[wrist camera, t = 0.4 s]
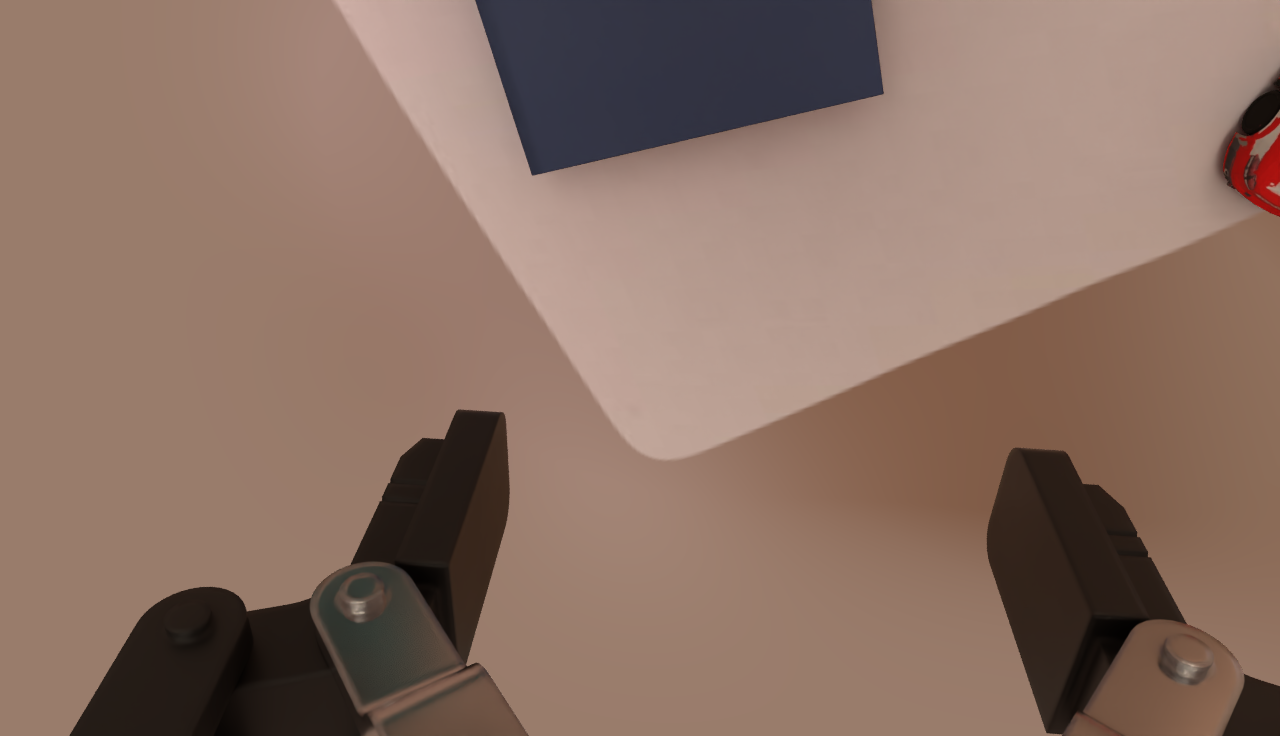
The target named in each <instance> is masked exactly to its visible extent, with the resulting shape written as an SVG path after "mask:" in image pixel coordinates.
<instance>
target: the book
mask: <svg viewBox="0 0 1280 736" xmlns="http://www.w3.org/2000/svg"><path fill="white" fill-rule="evenodd" d="M475 1H476V4H477V7H478V10H479V13H480V16H481V19H482V22H483V25H484V29H485V32H486V35H487V38H488V41H489V44H490V47H491V50H492V53H493V56H494V59H495V62H496V66H497V69H498V72H499V75H500V78H501V81H502V84H503V87H504V90H505V93H506V96H507V100H508V103H509V106H510V109H511V112H512V115H513V118H514V121H515V124H516V127H517V130H518V133H519V137H520V140H521V143H522V146H523V149H524V152H525V155H526V158H527V161H528V164H529V167H530V170H531V174H532V175H538V174H542V173H546V172H550V171H555V170H559V169H563V168H568V167H572V166H576V165H581V164H585V163H589V162H593V161H598V160H602V159H606V158H611V157H615V156H619V155H624V154H628V153H632V152H637V151H641V150H645V149H649V148H654V147H658V146H662V145H667V144H671V143H675V142H680V141H684V140H688V139H692V138H697V137H701V136H705V135H710V134H714V133H718V132H723V131H727V130H731V129H735V128H740V127H744V126H748V125H753V124H757V123H761V122H766V121H770V120H774V119H779V118H783V117H787V116H791V115H796V114H800V113H804V112H809V111H813V110H817V109H822V108H826V107H830V106H834V105H839V104H843V103H847V102H852V101H856V100H860V99H865V98H869V97H873V96H877V95H882V94H883V93H884V92H883V85H882V77H881V70H880V62H879V55H878V47H877V40H876V32H875V24H874V17H873V9H872V2H871V0H475Z"/></svg>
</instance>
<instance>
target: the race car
mask: <svg viewBox="0 0 1280 736" xmlns="http://www.w3.org/2000/svg"><path fill="white" fill-rule="evenodd" d="M1274 85H1276V86H1278V87H1280V77H1279V78H1278V80H1277V81H1276V82H1275V83H1274ZM1242 130H1243V131H1244V132H1245V133H1246V134H1248V135H1250V136H1243V135H1241V134H1239V133H1237V132H1236V133H1235V135H1234V136H1233V138H1232V140H1231V142H1230V144H1229V146H1228V148H1227V151H1226V155H1225V158H1224V164H1223V172H1224V175H1225V178H1226V179H1227V180H1228V181H1229V182H1228V183H1227V185H1228V186H1230V187H1231V186H1232V188H1233V189H1237V190H1238V191H1239V192H1240V193H1241V194H1242V195H1243V196H1244V197H1245V198H1247V199H1248V200H1250V201H1251V202H1252V203H1254V204H1255V205H1257V206H1259V207H1260V208H1262V209H1264V210H1266V211H1268V212H1270V213H1272V214H1274V215H1277V216H1279V217H1280V92H1279V91H1270V92H1267V93H1265V94H1263V95H1262V96H1260V97H1259V98H1258V99H1257V100H1255V101H1254V102H1253V103H1252V104H1251V106H1250V107H1249V108H1248V110H1247V111H1246V113H1245V115H1244V117H1243V120H1242Z"/></svg>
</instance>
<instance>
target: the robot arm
mask: <svg viewBox="0 0 1280 736" xmlns="http://www.w3.org/2000/svg"><path fill="white" fill-rule="evenodd" d="M509 490H510V488H509V469H508V449H507V431H506V419H505V415H504V413H503V412H488V411H473V410H457V411H456V413H455V415H454V418H453V420H452V422H451V425H450V427H449V430H448V432H447V434H446V437H445V439H444V440H443V439H430V438H422V439H421V440H420V441H419V442H418V443H416V444H415V445H414V446H413V447H412V448H410V449H409V450H408V451H407V452H406V453H405V454H404V455H402V456H401V457H400V460H399V462H398V464H397V466H396V468H395V470H394V472H393V475H392V477H391V482H390V483H388V485H387V488H386V490H385V492H384V494H383V496H382V501H380V503H379V505H378V507H377V509H376V511H375V513H374V516H373V518H372V520H371V522H370V524H369V526H368V528H367V531H366V533H365V535H364V537H363V539H362V541H361V543H360V546H359V548H358V550H357V552H356V554H355V556H354V558H353V561H352V563H351V565H349V566H346V567H344V568H342V569H339V570H337V571H336V572H334V573H332V574H331V575H329V576H328V577H327V578H325V579H324V580H323V581H322V582H321V583H320V584H319V585H318V586H317V588H316V589H315V591H314V593H313V595H312V597H311V598H310V599H307V600H304V601H301V602H297V603H293V604H288V605H283V606H277V607H271V608H265V609H259V610H253V611H248V612H247V611H246V607H245V605H244V603H243V601H242V600H241V599H240V597H239V596H237V595H236V594H234V593H233V592H231V591H229V590H226V589H222V588H216V587H199V588H193V589H188V590H185V591H181V592H179V593H176V594H173V595H171V596H169V597H167V598H165V599H163V600H161V601H160V602H158V603H157V604H155V605H154V606H153V607H151V608H150V609H149V610H148V611H147V612H146V613H145V614H144V615H143V616H142V617H141V618H140V620H139V621H138V623H137V624H136V626H135V628H134V629H133V631H132V632H131V634H130V636H129V637H128V639H127V641H126V643H125V644H124V646H123V647H122V649H121V651H120V652H119V654H118V656H117V658H116V659H115V661H114V662H113V664H112V666H111V667H110V669H109V671H108V672H107V674H106V676H105V677H104V679H103V681H102V682H101V684H100V686H99V688H98V689H97V691H96V692H95V694H94V696H93V698H92V699H91V701H90V702H89V704H88V706H87V707H86V709H85V711H84V712H83V714H82V716H81V717H80V719H79V721H78V722H77V724H76V726H75V727H74V729H73V731H72V732H71V734H70V736H528V734H527V732H526V731H525V729H524V728H523V726H522V725H521V723H520V721H519V720H518V718H517V717H516V715H515V714H514V712H513V711H512V709H511V707H510V706H509V704H508V703H507V701H506V700H505V698H504V697H503V695H502V693H501V692H500V690H499V689H498V687H497V686H496V684H495V683H494V681H493V679H492V678H491V676H490V675H489V674H488V672H487V671H486V669H485V668H484V667H483V666H482V665H480V664H479V663H474V664H472V665H470V666H468V667H467V666H466V663H467V659H468V656H469V652H470V648H471V645H472V641H473V638H474V635H475V631H476V628H477V624H478V621H479V617H480V614H481V610H482V607H483V603H484V600H485V596H486V593H487V589H488V585H489V582H490V579H491V575H492V571H493V568H494V565H495V561H496V558H497V554H498V551H499V547H500V544H501V540H502V537H503V533H504V529H505V526H506V521H507V516H508V509H509V494H510V492H509ZM987 552H988V559H989V563H990V566H991V569H992V572H993V575H994V578H995V580H996V584H997V587H998V590H999V593H1000V595H1001V599H1002V602H1003V605H1004V608H1005V611H1006V614H1007V617H1008V619H1009V623H1010V626H1011V628H1012V632H1013V634H1014V638H1015V640H1016V644H1017V647H1018V649H1019V652H1020V655H1021V658H1022V661H1023V664H1024V667H1025V670H1026V673H1027V676H1028V679H1029V682H1030V685H1031V688H1032V691H1033V694H1034V697H1035V700H1036V703H1037V706H1038V709H1039V712H1040V715H1041V718H1042V721H1043V724H1044V727H1045V730H1046V733H1052V734H1063V735H1062V736H1280V686H1277V685H1274V684H1271V683H1267V682H1264V681H1261V680H1258V679H1255V678H1252V677H1250V676H1248V675H1245V674H1244V673H1243V670H1242V667H1241V665H1240V664H1239V662H1238V660H1237V659H1236V658H1235V656H1234V655H1233V654H1232V653H1231V652H1230V651H1229V650H1228V649H1227V647H1225V646H1224V645H1223V644H1222V643H1221V642H1219V641H1218V640H1217V639H1215V638H1214V637H1212V636H1211V635H1209V634H1207V633H1206V632H1204V631H1202V630H1200V629H1198V628H1195V627H1193V626H1191V625H1187V623H1186V622H1185V620H1184V618H1183V616H1182V614H1181V612H1180V611H1179V609H1178V607H1177V605H1176V603H1175V602H1174V599H1173V598H1172V596H1171V594H1170V592H1169V590H1168V588H1167V587H1166V585H1165V583H1164V581H1163V580H1162V577H1161V576H1160V574H1159V572H1158V570H1157V568H1156V566H1155V564H1154V563H1153V561H1152V559H1151V558H1150V557H1148V551H1147V550H1146V548H1145V546H1144V544H1143V542H1142V540H1141V539H1140V537H1137V531H1136V529H1135V527H1134V526H1133V524H1132V522H1131V520H1130V518H1129V517H1128V515H1127V513H1126V511H1125V509H1124V507H1122V506H1121V505H1120V504H1119V503H1118V502H1117V501H1116V500H1114V499H1113V498H1112V497H1111V496H1110V495H1109V494H1108V493H1106V491H1105V490H1103V489H1102V488H1101V487H1100V486H1099V485H1089V484H1082V482H1081V479H1080V477H1079V476H1078V474H1077V472H1076V470H1075V468H1074V466H1073V464H1072V462H1071V460H1070V458H1069V456H1068V454H1067V453H1066V452H1064V451H1058V450H1042V449H1027V448H1013V449H1012V450H1011V452H1010V453H1009V456H1008V458H1007V461H1006V465H1005V468H1004V472H1003V475H1002V479H1001V482H1000V485H999V489H998V493H997V496H996V499H995V503H994V506H993V510H992V513H991V517H990V520H989V524H988V531H987Z"/></svg>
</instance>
